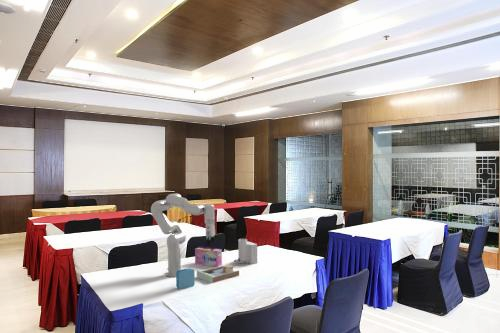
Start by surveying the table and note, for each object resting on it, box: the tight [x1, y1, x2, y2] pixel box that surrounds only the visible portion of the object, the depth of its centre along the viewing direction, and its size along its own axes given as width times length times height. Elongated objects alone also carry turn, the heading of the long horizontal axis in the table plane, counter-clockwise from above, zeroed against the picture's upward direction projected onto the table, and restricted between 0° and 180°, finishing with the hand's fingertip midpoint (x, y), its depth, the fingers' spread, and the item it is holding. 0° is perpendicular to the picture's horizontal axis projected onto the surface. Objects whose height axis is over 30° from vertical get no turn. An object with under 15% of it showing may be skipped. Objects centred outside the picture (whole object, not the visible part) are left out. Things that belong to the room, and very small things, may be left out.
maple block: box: [222, 264, 234, 272], centre depth 272 cm, size 5×6×4 cm
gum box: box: [194, 246, 223, 268], centre depth 299 cm, size 24×8×14 cm, turn 65°
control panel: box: [233, 238, 258, 265], centre depth 303 cm, size 16×19×20 cm
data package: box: [175, 267, 196, 290], centre depth 243 cm, size 12×4×12 cm, turn 127°
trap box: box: [196, 265, 240, 284], centre depth 266 cm, size 19×26×5 cm
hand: (210, 243), depth 260 cm, fingers open, 9 cm apart
